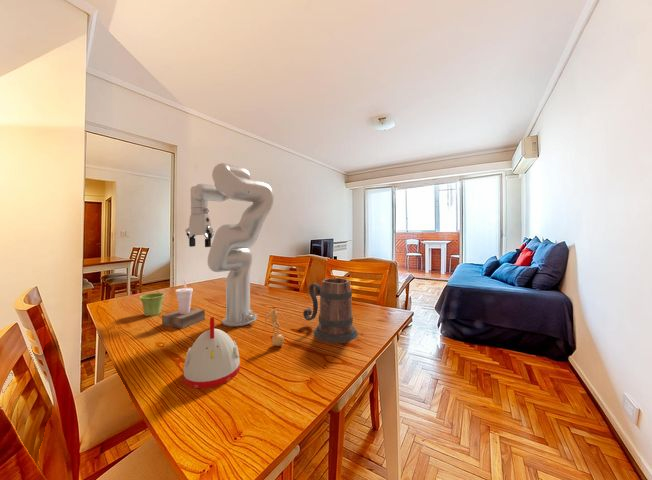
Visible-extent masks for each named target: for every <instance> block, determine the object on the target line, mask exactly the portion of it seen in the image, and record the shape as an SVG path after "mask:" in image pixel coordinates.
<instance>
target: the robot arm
mask: <svg viewBox="0 0 652 480" xmlns="http://www.w3.org/2000/svg"><path fill="white" fill-rule="evenodd" d="M211 178H212V180H213V183H214V185H213V184H207V183H197V184H196V185H193V186H191V187H190V215H189V220H188V222H189V223H188V227H187V228H186V229H185V233H186V236H187V238H188V242H189V243H188V244H189V245H188V246H189V248H191V247H192V248H193V247H196V237H197V236H204V248H210V249H209V252H208V256H207V266H208V269H209V270H210V271H212V272H215V273H223V272H228V271H229V272H228V273H227V275H226V279H225V298H226V299H225V302H226V303H225V306H226V309H225V314H226V316H225V317H223V319H222V320H221V321H222V322H221V323H222V325H223V326H225V327H226V326H227V327H232V328H233V327H243V326H246V325H250V324H251V323H253V322H254V321H256V320H257V319H258V314H257V313H253V310H252V309H251V270H252V269H251V267H252V262H253V253H252V251H251V250H250V249H249V248H252V247H254V245H255V244H256V241H257V240H258V237H259V234H260V233H261V231H262V228H263V225H264V222H265V220H266V219H267V216H268V215H269V213H270V211H271V209H272V207H273V205H274V199H275V198H274V197H275V196H274V193H273V189H272V187H271V186H270V185H269V184H268V183H267V182H266V183H265V182H263V181H261V180H258V179H257V180H256V179H251V178H252V177H251V174H250V172H249V171H248V170H247V169H246V168H245V167H242V166H239V165H234V164H228V163H224V162H220V163H217V164H215V166H214V167H213V168H212V173H211ZM229 200H233V201H239V202H247V203H252V204H251V205H249V206H248V207H247V208H246V209H245V210H244V211H243V212H242V215H241V218H240V220H239V222H238V223H236V224H235V223H232V224H230V223H229V224H223V225H221V226H219V227H218V228H217V230H215V228H213V227H212V221H211V216H210V214H209V212H210V210H209V202H217V203H218V202H220V203H221V202H225V201H229ZM212 238H213V239H212ZM211 242H212V243H211Z"/></svg>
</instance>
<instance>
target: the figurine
mask: <svg viewBox="0 0 652 480" xmlns="http://www.w3.org/2000/svg"><path fill="white" fill-rule="evenodd" d="M278 315H280V316H281V317H282V318H283V319H284V321H285V322H287V321H286V318H285V317H284V315H283V314H282V313H281V312H280V311H277V310H276V308H275V309H271V310H270V311H269V313H268V314H267V315H266V316H265V317H264V327H267V318H269V317H270V318H271V320H270V323H271V325H272V327H273V328H272V330H273V334H274V335H273V336H272V337H271V344H272V345H273V346H275V347H281V346H282V345H283V344H284V342H285V341H284V340H285V339H284V336H283V334H281V333H280V331H279V328H280V327H281V324H280V322H279V319H278V318H277V316H278ZM276 326H277V327H276ZM275 330H276V331H275Z"/></svg>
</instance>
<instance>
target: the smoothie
mask: <svg viewBox="0 0 652 480" xmlns="http://www.w3.org/2000/svg"><path fill="white" fill-rule="evenodd" d="M183 281H184V287H183V288H178V289H175V295H176V299H177V305H178V310H179V313H180V314H187V313H189V312H190V308H191V305H192V304H191V303H192V297H193V296H192V295H193V292H194V289H193V288H192V287H187V279H186V278H185V279H184V280H183Z"/></svg>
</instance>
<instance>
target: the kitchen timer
mask: <svg viewBox="0 0 652 480" xmlns="http://www.w3.org/2000/svg"><path fill="white" fill-rule="evenodd" d="M184 359H185V360H184V363H183V364H184V366H183V382H184V384H185V385H186V386H187V387H190V388H195V389H206V388H208V387H209V388H213V387H217V386H220V385H223V384H225V383H227V382H230V381H231V380H232V379H234V378H235V377H236V376H237V375H238V374H239V372H240V369H241V359H240V353H239V347H238V345H237V343H236V341H235V340H233V339H232V338H231V336H230V335H229V334H227V333H226V332H225V331H224V330H222V329H219V328H215V317H214V316H212V317H210V321H209V329H207V330H205V331H204V332H202V333H201V334H200V335H199V336H198V337H197V339H195V341H194V342H193V344H192V346H190V347H189V348H188V350H187V352H186V355H185V358H184ZM209 388H208V389H209Z"/></svg>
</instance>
